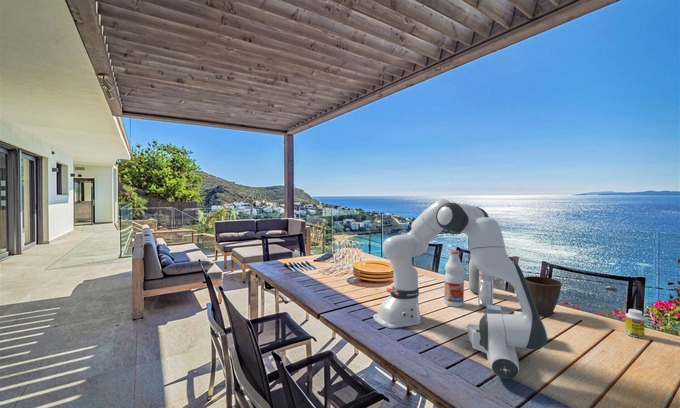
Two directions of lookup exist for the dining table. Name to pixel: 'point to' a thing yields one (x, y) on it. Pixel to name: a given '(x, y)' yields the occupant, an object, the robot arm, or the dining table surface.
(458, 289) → the fruit juice
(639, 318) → the supplement bottle
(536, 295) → the plant pot
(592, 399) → the dining table surface
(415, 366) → the dining table surface
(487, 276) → the water bottle
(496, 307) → the tall block
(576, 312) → the dining table surface
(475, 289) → the grey thermos flask
